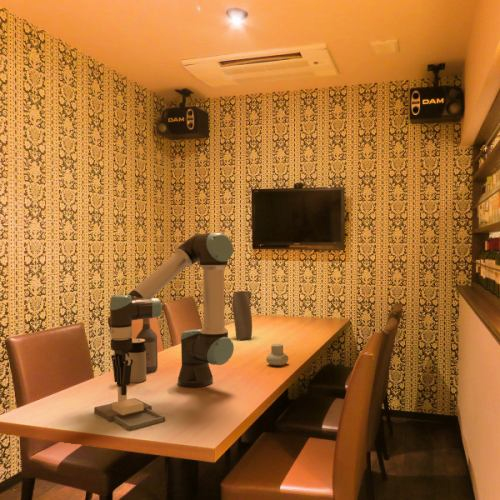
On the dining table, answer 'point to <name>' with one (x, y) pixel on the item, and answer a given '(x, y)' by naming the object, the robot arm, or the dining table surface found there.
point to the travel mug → (138, 361)
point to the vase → (242, 314)
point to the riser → (109, 414)
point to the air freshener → (277, 355)
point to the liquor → (149, 346)
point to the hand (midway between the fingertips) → (122, 403)
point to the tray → (140, 420)
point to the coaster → (127, 406)
